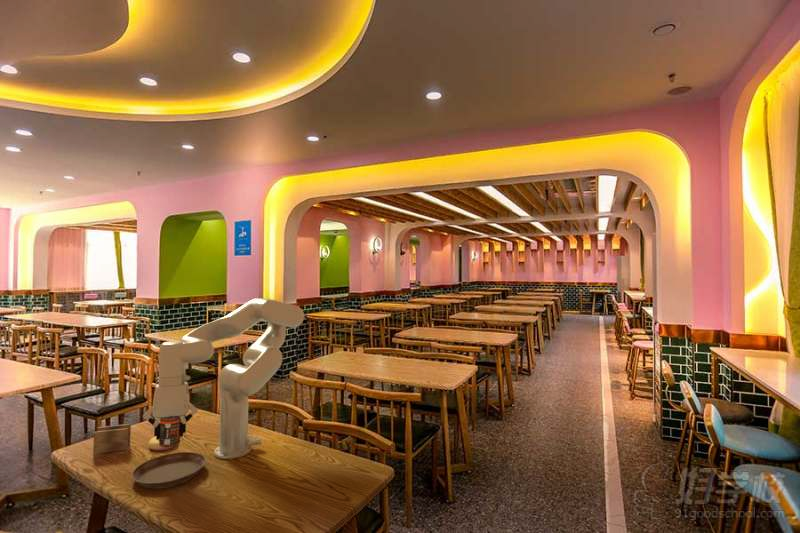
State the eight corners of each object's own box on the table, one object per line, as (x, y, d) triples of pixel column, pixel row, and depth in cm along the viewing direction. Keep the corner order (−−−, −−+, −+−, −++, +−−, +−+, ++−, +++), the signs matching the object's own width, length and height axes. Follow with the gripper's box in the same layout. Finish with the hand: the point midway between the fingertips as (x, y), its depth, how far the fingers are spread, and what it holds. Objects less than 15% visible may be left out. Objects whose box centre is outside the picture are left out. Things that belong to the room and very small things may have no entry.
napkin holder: (130, 447, 151) (130, 423, 152) (127, 452, 147) (127, 428, 147) (97, 451, 148) (98, 427, 148) (93, 457, 143) (93, 432, 143)
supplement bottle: (170, 449, 129) (172, 412, 129) (154, 447, 130) (155, 411, 130) (184, 441, 134) (185, 406, 134) (168, 439, 136) (169, 405, 136)
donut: (152, 459, 147) (181, 448, 153) (151, 448, 146) (180, 437, 152) (146, 446, 154) (174, 436, 160) (145, 435, 153) (173, 425, 159)
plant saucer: (116, 483, 127) (116, 473, 127) (176, 456, 146) (176, 446, 146) (162, 500, 119) (162, 488, 119) (219, 468, 138) (219, 458, 138)
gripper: (202, 375, 139) (200, 429, 139) (143, 379, 132) (141, 435, 132) (201, 381, 132) (199, 437, 132) (138, 385, 126) (136, 445, 125)
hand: (170, 436), depth 132 cm, fingers closed on supplement bottle, 6 cm apart
